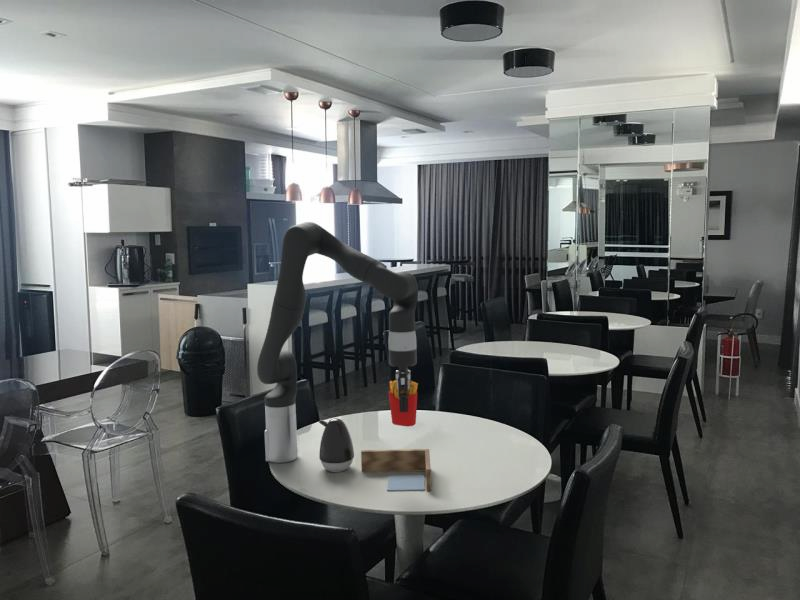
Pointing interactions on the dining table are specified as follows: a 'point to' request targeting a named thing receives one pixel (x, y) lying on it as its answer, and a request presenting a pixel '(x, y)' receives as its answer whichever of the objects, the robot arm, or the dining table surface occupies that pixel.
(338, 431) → the pump dispenser
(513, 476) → the dining table surface
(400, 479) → the mat
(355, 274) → the robot arm
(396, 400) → the french fries
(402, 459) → the wooden corner bracket
